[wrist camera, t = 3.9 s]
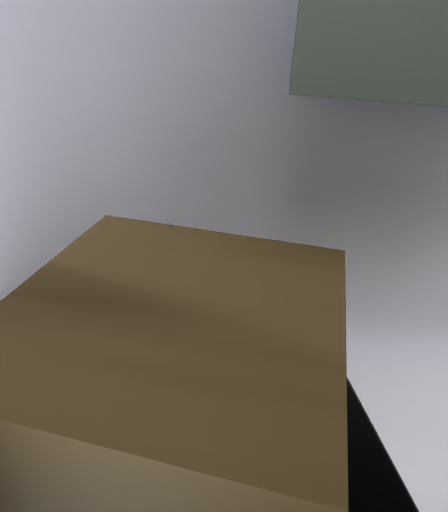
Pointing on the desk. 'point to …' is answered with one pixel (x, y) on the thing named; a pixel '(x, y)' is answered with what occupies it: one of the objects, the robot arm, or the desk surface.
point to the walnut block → (175, 375)
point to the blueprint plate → (372, 50)
